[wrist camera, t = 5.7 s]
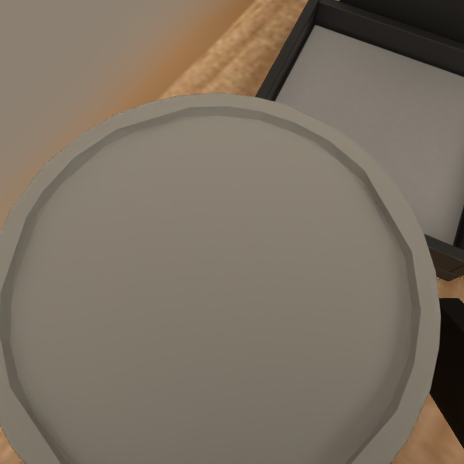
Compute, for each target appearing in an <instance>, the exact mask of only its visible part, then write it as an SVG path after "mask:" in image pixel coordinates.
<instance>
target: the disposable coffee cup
mask: <svg viewBox="0 0 464 464" xmlns="http://www.w3.org/2000/svg"><path fill="white" fill-rule="evenodd" d="M440 322H441V314H440V305H439V296H438V287H437V279H436V271H435V268H434V265H433V262H432V258H431V255H430V252H429V249H428V246H427V243H426V239H425V236H424V233H423V231H422V229H421V227H420V225H419V223H418V221H417V219H416V217H415V215H414V213H413V211H412V209H411V207H410V205H409V204H408V202H407V201H406V199H405V198H404V196H403V195H402V193H401V192H400V190H399V189H398V187H397V186H396V184H395V183H394V181H393V180H392V178H391V177H390V176H389V175H388V174H387V173H386V172H385V171H384V170H383V169H382V168H381V166H380V165H379V164H378V163H377V162H376V161H375V160H374V159H373V158H372V157H371V156H370V155H369V154H368V153H367V152H366V151H365V150H363V149H362V148H361V147H360V146H358V145H357V144H356V143H354V142H353V141H352V140H351V139H349V138H348V137H347V136H346V135H344V134H343V133H342V132H340V131H339V130H337V129H335V128H333V127H331V126H329V125H327V124H325V123H323V122H321V121H319V120H318V119H316V118H314V117H311V116H309V115H307V114H305V113H303V112H301V111H298V110H296V109H294V108H292V107H290V106H287V105H285V104H282V103H278V102H274V101H270V100H266V99H262V98H257V97H253V96H244V95H235V94H226V93H208V94H197V95H185V96H174V97H170V98H166V99H161V100H157V101H153V102H149V103H145V104H142V105H139V106H136V107H134V108H131V109H129V110H126V111H124V112H121V113H119V114H116V115H114V116H113V117H111V118H109V119H107V120H105V121H103V122H102V123H100V124H98V125H96V126H94V127H93V128H91V129H89V130H87V131H85V132H83V133H82V134H81V135H79V136H78V137H77V138H76V139H75V140H74V141H72V142H71V143H70V144H69V145H67V146H66V147H65V148H64V149H63V150H61V151H60V152H59V153H58V154H57V155H56V156H54V157H53V158H52V159H51V160H49V161H48V162H47V163H46V164H45V165H44V166H43V167H42V169H41V170H40V171H39V172H38V174H37V175H36V176H35V178H34V179H33V180H32V182H31V183H30V184H29V186H28V187H27V188H26V190H25V191H24V192H23V194H22V195H21V196H20V197H19V199H18V200H17V201H16V203H15V204H14V205H13V207H12V208H11V209H10V211H9V213H8V216H7V218H6V221H5V223H4V225H3V228H2V230H1V233H0V424H1V426H2V428H3V431H4V433H5V435H6V437H7V440H8V442H9V444H10V445H11V447H12V448H13V449H14V450H15V452H16V453H17V454H18V456H19V457H20V458H21V459H22V461H23V462H24V463H25V464H390V463H391V461H392V460H393V459H394V458H395V456H396V455H397V454H398V452H399V451H400V450H401V448H402V447H403V446H404V445H405V443H406V442H407V440H408V438H409V436H410V434H411V432H412V429H413V427H414V425H415V423H416V421H417V418H418V416H419V414H420V412H421V410H422V407H423V405H424V403H425V401H426V399H427V396H428V394H429V392H430V389H431V384H432V379H433V374H434V369H435V364H436V360H437V355H438V350H439V340H440Z"/></svg>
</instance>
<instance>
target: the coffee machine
mask: <svg viewBox="0 0 464 464" xmlns="http://www.w3.org/2000/svg"><path fill="white" fill-rule="evenodd" d="M255 97H257V98H262V99H266V100H270V101H274V102H278V103H282V104H285V105H287V106H290V107H292V108H294V109H296V110H298V111H301V112H303V113H305V114H307V115H309V116H311V117H314V118H316V119H318V120H319V121H321V122H323V123H325V124H327V125H329V126H331V127H333V128H335V129H337V130H339V131H340V132H342V133H343V134H344V135H346V136H347V137H348V138H349V139H351V140H352V141H353V142H354V143H356V144H357V145H358V146H360V147H361V148H362V149H363V150H365V151H366V152H367V153H368V154H369V155H370V156H371V157H372V158H373V159H374V160H375V161H376V162H377V163H378V164H379V165H380V166H381V168H382V169H383V170H384V171H385V172H386V173H387V174H388V175H389V176H390V177H391V178H392V180H393V181H394V183H395V184H396V186H397V187H398V189H399V190H400V192H401V193H402V195H403V196H404V198H405V199H406V201H407V202H408V204H409V205H410V207H411V209H412V211H413V213H414V215H415V217H416V219H417V221H418V223H419V225H420V227H421V229H422V231H423V233H424V236H425V239H426V243H427V246H428V249H429V252H430V255H431V258H432V262H433V265H434V268H435V271H436V276H438V277H440V278H442V279H445V280H447V281H450V280H453V279H455V278H458V277H461V276H463V275H464V0H340V1H336V0H309V1H308V2H307V4H306V6H305V8H304V10H303V12H302V13H301V15H300V17H299V19H298V21H297V22H296V24H295V26H294V28H293V30H292V31H291V33H290V35H289V37H288V39H287V40H286V42H285V44H284V46H283V48H282V49H281V51H280V53H279V55H278V57H277V58H276V60H275V62H274V64H273V66H272V67H271V69H270V71H269V73H268V75H267V76H266V78H265V80H264V82H263V84H262V86H261V87H260V89H259V91H258V93H257V95H256V96H255Z"/></svg>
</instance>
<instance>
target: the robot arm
mask: <svg viewBox="0 0 464 464" xmlns="http://www.w3.org/2000/svg"><path fill="white" fill-rule="evenodd" d="M439 305H440V314H441V322H440V340H439V350H438V355H437V360H436V364H435V369H434V374H433V379H432V384H431V389H430V392H429V393H430V395H431V396H432V398H433V400H434V401H435V403H436V404H437V406H438V408H439V409H440V411H441V413H442V414H443V416H444V418H445V419H446V421H447V422H448V424H449V426H450V427H451V429H452V431H453V432H454V434H455V435H456V437H457V439H458V440H459V442H460V444H461V445H462V447H463V448H464V303H463V302H462V301H461V300H460V299H459V298H439Z"/></svg>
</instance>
